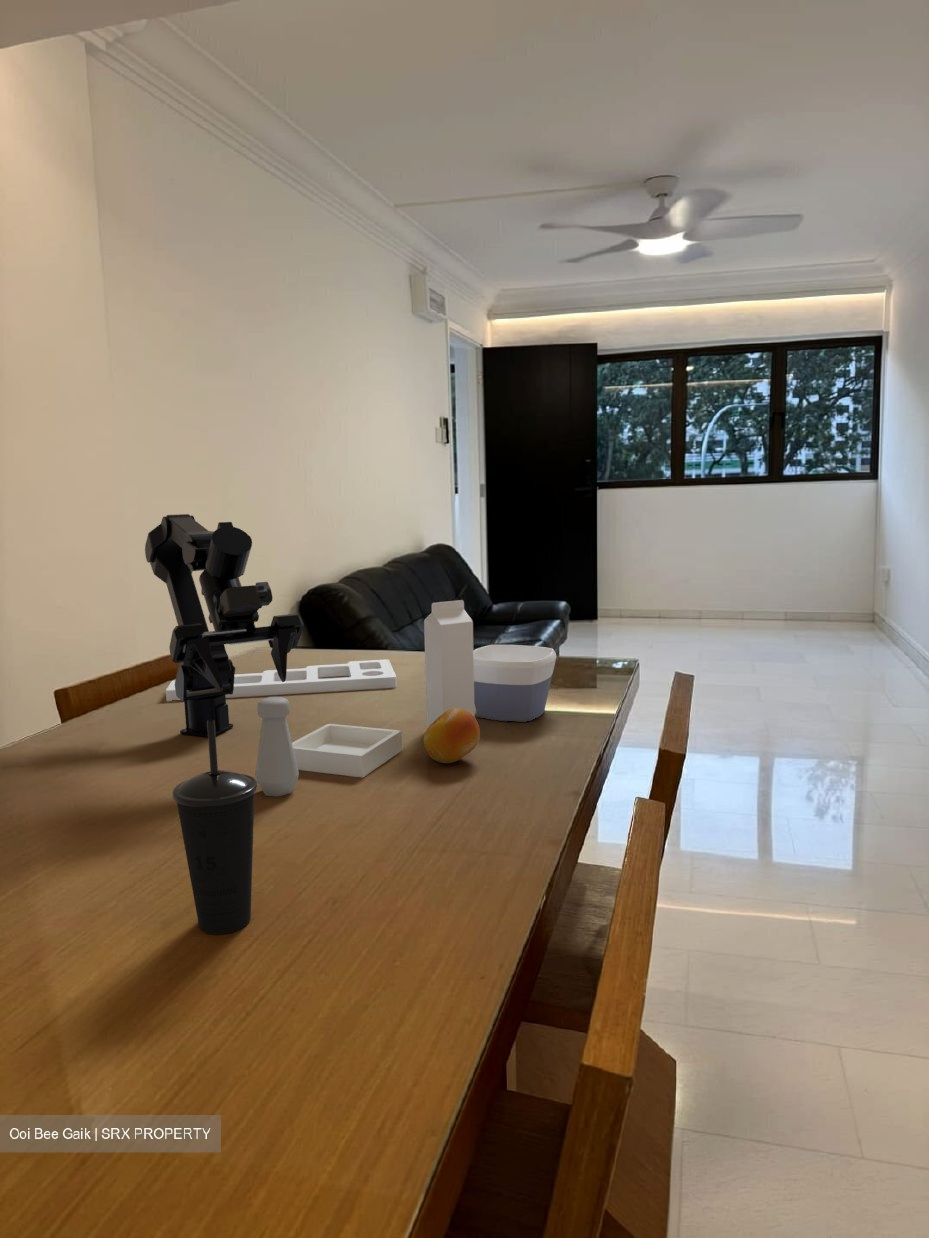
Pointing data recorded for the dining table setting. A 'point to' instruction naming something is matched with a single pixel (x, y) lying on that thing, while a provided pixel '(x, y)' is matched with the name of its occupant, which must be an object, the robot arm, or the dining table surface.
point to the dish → (346, 749)
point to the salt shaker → (275, 749)
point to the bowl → (512, 681)
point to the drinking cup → (218, 842)
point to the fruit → (452, 736)
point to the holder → (311, 680)
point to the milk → (448, 659)
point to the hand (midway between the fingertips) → (253, 684)
